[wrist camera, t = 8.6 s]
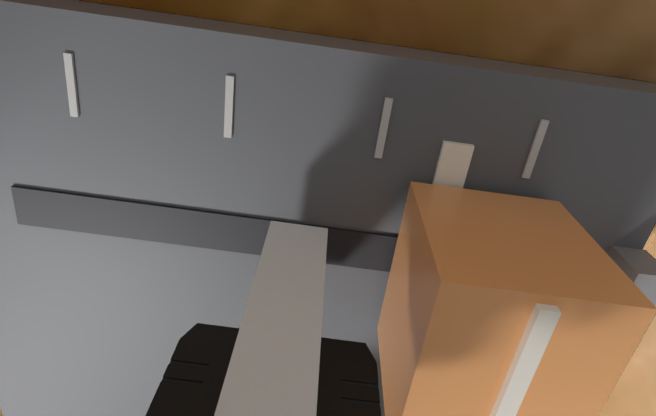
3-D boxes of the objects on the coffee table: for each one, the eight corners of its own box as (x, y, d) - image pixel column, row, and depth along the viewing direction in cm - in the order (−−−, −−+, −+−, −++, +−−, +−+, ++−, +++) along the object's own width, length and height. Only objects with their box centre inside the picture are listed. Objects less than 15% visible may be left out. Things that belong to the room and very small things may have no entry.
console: (53, 472, 22) (7, 551, 19) (-46, -18, 13) (-165, -13, 10) (473, 520, 23) (493, 604, 20) (670, 84, 14) (764, 119, 11)
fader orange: (377, 327, 15) (389, 470, 11) (410, 181, 13) (443, 287, 8) (503, 343, 15) (565, 490, 11) (559, 201, 13) (664, 316, 8)
